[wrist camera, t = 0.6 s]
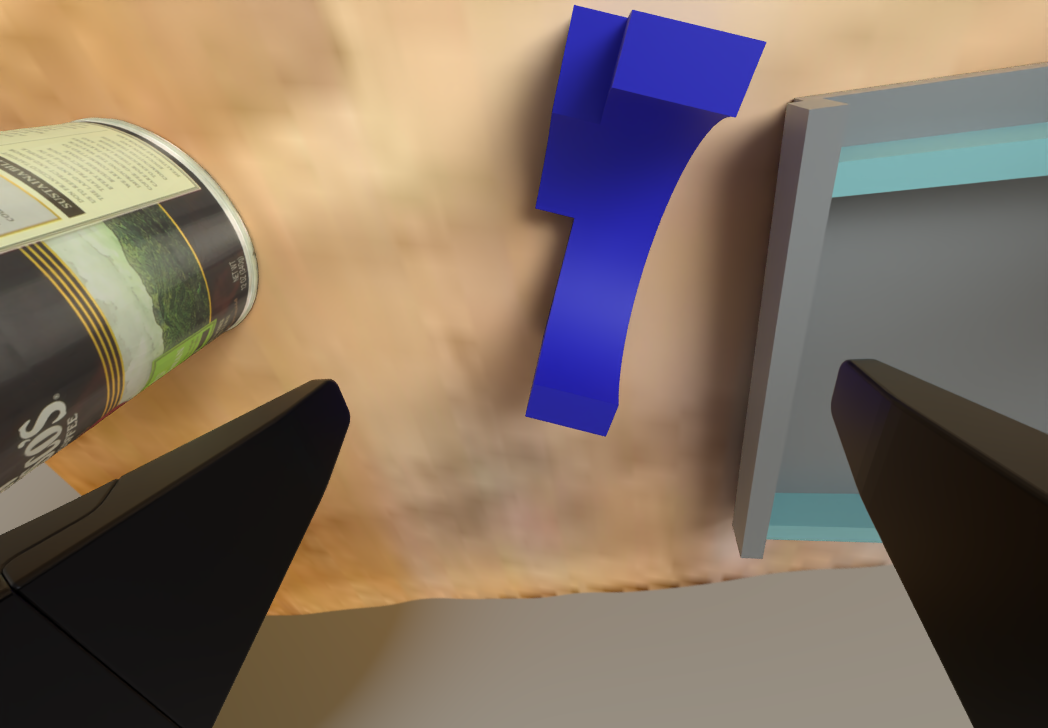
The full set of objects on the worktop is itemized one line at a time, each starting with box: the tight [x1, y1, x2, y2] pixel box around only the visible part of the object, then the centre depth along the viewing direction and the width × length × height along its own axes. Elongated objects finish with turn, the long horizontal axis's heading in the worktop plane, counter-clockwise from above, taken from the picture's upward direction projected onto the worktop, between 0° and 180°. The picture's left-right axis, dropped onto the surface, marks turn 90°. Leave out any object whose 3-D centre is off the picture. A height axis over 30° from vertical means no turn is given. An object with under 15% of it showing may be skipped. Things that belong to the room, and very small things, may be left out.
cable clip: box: [525, 5, 766, 437], centre depth 16 cm, size 12×4×6 cm, turn 169°
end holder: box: [732, 62, 1048, 559], centre depth 18 cm, size 15×20×3 cm
